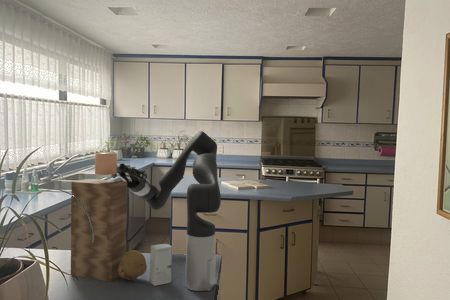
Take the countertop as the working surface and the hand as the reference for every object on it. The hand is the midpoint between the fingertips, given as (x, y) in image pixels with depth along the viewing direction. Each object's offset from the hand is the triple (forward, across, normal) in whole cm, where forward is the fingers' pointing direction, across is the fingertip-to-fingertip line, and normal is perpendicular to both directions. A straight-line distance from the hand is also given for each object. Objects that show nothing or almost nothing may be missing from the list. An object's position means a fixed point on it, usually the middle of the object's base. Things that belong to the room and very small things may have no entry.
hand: (116, 165), depth 124 cm
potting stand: (-14, -3, +35) cm, 38 cm away
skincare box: (-15, +20, +35) cm, 43 cm away
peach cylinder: (0, 0, +3) cm, 3 cm away
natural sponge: (-13, +11, +36) cm, 40 cm away
